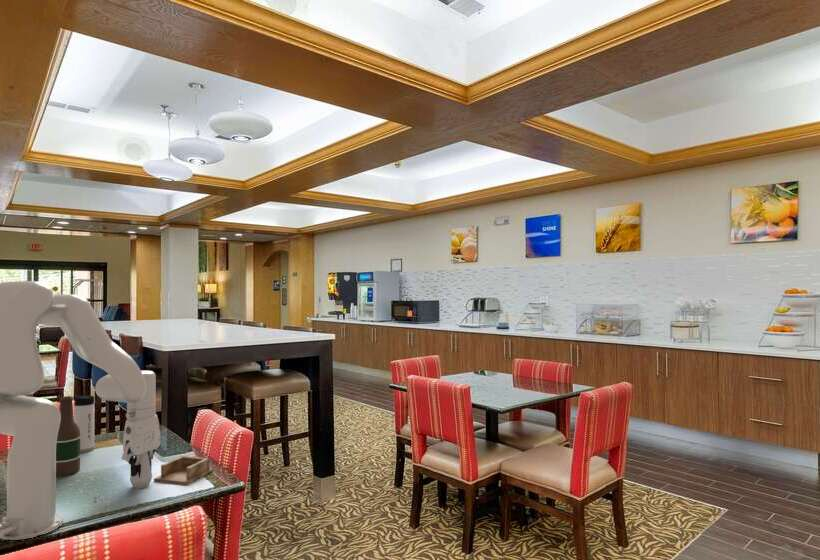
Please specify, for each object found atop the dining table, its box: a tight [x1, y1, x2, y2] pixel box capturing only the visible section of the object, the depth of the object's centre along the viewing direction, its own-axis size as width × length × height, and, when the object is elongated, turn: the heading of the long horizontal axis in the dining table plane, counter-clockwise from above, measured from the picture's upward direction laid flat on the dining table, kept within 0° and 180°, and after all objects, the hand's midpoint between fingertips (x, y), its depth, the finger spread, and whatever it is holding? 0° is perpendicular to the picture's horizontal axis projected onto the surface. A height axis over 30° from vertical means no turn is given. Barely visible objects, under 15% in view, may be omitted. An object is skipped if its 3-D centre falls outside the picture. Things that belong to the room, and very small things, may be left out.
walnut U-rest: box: [153, 455, 214, 486], centre depth 160 cm, size 12×12×4 cm
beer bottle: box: [56, 395, 81, 478], centre depth 164 cm, size 8×8×24 cm
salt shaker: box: [129, 452, 153, 489], centre depth 152 cm, size 6×6×13 cm
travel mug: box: [72, 394, 96, 454], centre depth 187 cm, size 6×7×20 cm
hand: (141, 474), depth 152 cm, fingers open, 3 cm apart
